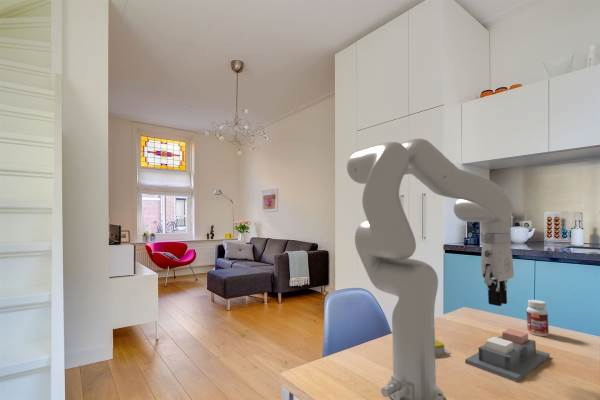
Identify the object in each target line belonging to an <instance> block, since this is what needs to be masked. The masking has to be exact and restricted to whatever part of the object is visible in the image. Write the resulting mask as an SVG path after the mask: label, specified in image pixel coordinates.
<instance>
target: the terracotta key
mask: <svg viewBox="0 0 600 400" xmlns="http://www.w3.org/2000/svg"><path fill="white" fill-rule="evenodd" d="M502 335H503V339H504V340H508V341H511V342H513V343H516V344H520V345H524V344H525V343H527V342H528V339H529V332H525V331H524V332H523V331H520V330H516V329H511V328H508V329H506V330H504V331H502V334H501V336H502Z"/></svg>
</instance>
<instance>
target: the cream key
mask: <svg viewBox="0 0 600 400" xmlns="http://www.w3.org/2000/svg"><path fill="white" fill-rule="evenodd" d="M485 344H486V349H489V350H492V351H495V352H498V353H502V354H505V355H508V354H509V353H511V352H512V351H513V342H511V341H508V340H504V339H500V338H498V337H497V336H492V337H490V338H488V339H486V340H485Z"/></svg>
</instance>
